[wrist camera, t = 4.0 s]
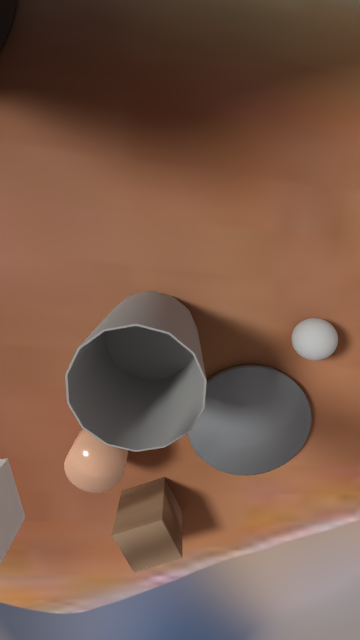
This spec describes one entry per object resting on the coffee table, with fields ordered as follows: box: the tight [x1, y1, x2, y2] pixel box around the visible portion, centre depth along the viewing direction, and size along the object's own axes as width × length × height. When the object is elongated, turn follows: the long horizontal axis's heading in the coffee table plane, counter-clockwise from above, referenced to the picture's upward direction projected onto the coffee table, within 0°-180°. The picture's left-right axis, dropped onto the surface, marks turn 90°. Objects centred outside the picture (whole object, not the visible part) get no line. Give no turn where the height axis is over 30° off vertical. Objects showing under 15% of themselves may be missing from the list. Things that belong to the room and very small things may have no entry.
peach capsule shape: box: [64, 428, 129, 492], centre depth 28 cm, size 5×5×5 cm
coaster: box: [188, 364, 311, 475], centre depth 29 cm, size 12×12×1 cm
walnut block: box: [112, 477, 182, 572], centre depth 30 cm, size 5×5×5 cm
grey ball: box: [292, 318, 338, 360], centre depth 25 cm, size 4×4×4 cm
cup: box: [65, 291, 207, 452], centre depth 22 cm, size 8×8×10 cm
